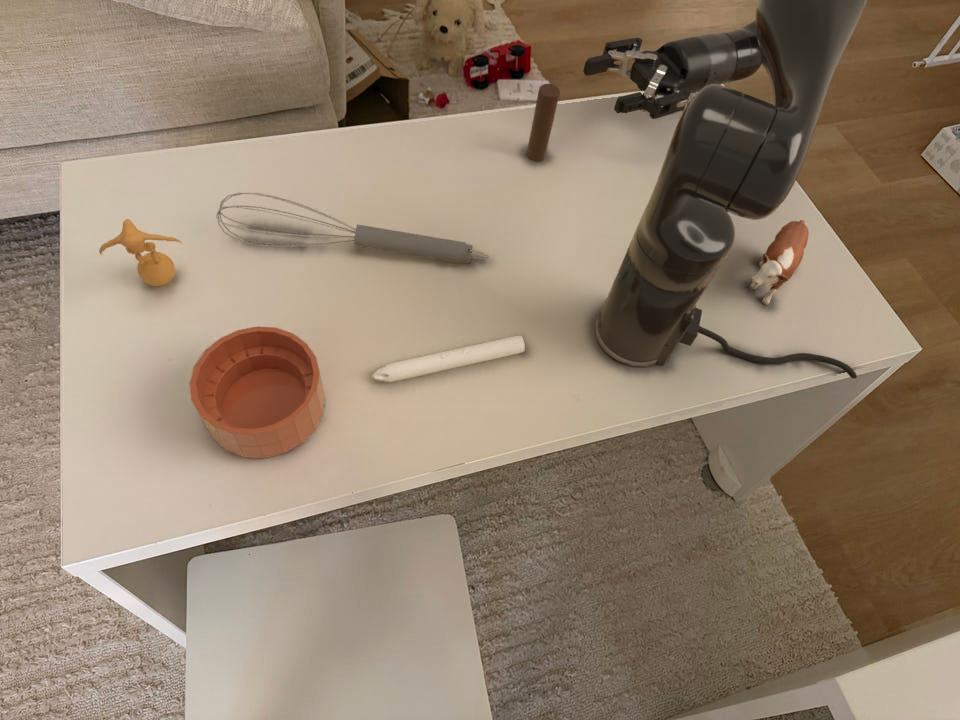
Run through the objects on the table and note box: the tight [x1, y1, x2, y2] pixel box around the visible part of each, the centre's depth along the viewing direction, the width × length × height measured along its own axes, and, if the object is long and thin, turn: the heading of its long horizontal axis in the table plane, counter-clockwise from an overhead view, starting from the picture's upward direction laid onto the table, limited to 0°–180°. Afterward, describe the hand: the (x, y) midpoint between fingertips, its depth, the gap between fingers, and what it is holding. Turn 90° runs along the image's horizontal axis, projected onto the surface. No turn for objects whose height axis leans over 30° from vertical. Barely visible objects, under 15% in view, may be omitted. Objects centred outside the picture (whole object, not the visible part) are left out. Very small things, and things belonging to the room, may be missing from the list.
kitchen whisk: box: [215, 192, 489, 264], centre depth 82 cm, size 6×34×6 cm, turn 86°
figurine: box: [98, 218, 183, 287], centre depth 74 cm, size 8×6×12 cm
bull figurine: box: [748, 219, 809, 306], centre depth 85 cm, size 4×13×8 cm, turn 143°
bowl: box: [189, 325, 326, 459], centre depth 69 cm, size 12×12×6 cm
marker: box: [371, 335, 526, 383], centre depth 76 cm, size 18×2×2 cm, turn 108°
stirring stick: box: [526, 83, 561, 163], centre depth 93 cm, size 3×3×11 cm
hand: (600, 86), depth 92 cm, fingers open, 8 cm apart
